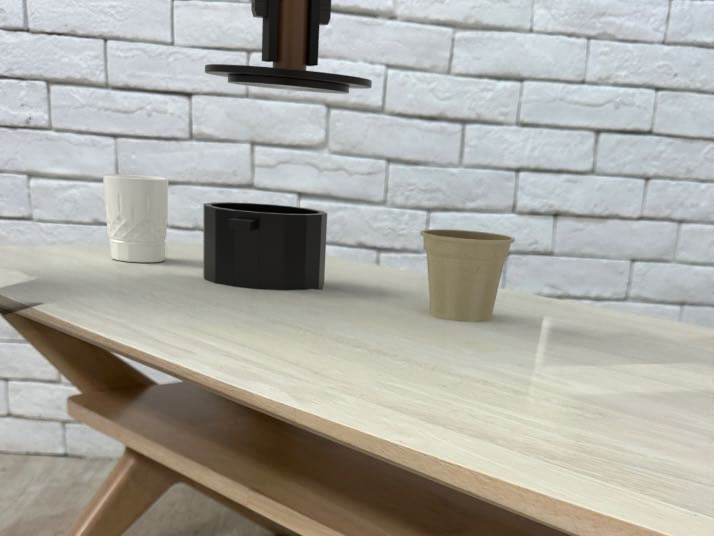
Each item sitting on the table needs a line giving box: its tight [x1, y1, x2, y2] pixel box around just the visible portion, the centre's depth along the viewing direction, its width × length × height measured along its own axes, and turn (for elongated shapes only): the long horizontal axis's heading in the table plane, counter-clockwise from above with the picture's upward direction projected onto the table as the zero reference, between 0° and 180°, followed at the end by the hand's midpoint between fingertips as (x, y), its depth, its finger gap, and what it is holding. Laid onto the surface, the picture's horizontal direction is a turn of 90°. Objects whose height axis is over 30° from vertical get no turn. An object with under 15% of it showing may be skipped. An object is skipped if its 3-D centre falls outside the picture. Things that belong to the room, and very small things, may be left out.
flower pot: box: [419, 228, 516, 323], centre depth 100 cm, size 9×9×9 cm
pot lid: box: [204, 0, 373, 95], centre depth 88 cm, size 15×15×9 cm
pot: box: [202, 201, 328, 291], centre depth 113 cm, size 14×19×8 cm
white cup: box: [102, 173, 169, 264], centre depth 126 cm, size 8×8×10 cm
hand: (289, 62), depth 89 cm, fingers closed on pot lid, 3 cm apart
